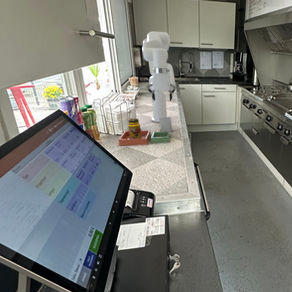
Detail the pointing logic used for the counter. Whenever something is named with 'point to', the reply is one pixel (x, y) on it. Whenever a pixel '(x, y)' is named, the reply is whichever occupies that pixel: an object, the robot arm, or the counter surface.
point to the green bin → (160, 137)
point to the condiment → (134, 129)
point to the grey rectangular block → (165, 124)
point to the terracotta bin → (126, 141)
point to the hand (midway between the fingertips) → (162, 100)
